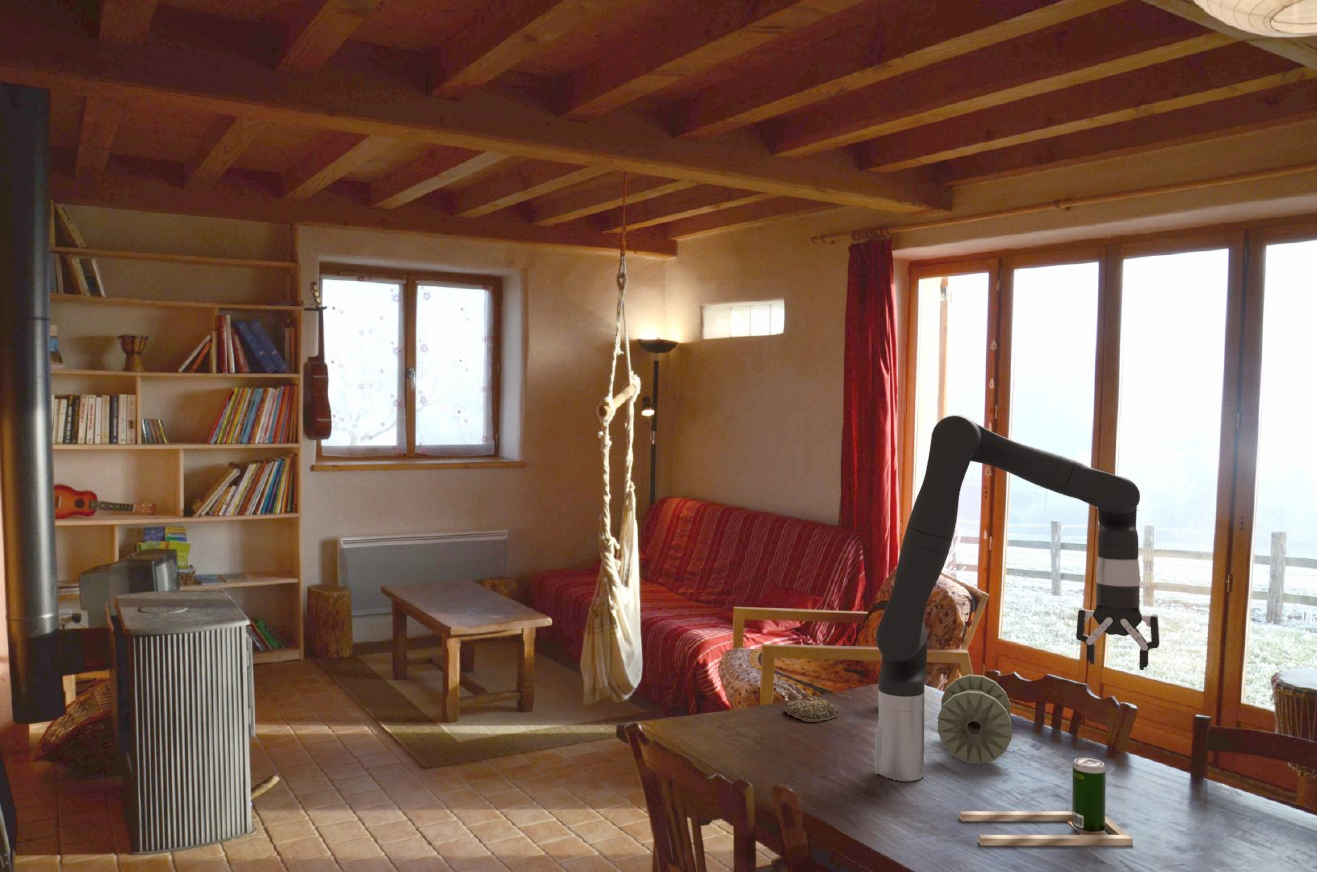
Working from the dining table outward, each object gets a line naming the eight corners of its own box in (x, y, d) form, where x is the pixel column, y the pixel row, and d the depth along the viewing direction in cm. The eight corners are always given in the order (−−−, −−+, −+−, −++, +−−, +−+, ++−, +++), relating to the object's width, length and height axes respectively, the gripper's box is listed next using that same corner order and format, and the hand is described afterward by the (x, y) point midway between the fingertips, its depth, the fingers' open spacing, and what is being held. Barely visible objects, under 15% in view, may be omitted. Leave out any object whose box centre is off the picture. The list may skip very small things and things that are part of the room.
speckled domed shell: (803, 725, 239) (803, 705, 239) (777, 712, 250) (777, 692, 250) (848, 719, 244) (848, 699, 244) (820, 706, 255) (821, 687, 255)
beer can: (1093, 838, 172) (1094, 769, 172) (1065, 828, 177) (1066, 760, 177) (1111, 831, 175) (1112, 763, 175) (1083, 821, 180) (1084, 755, 180)
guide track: (981, 845, 170) (981, 838, 170) (959, 817, 182) (959, 811, 182) (1132, 845, 170) (1132, 838, 170) (1100, 817, 182) (1101, 811, 182)
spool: (1011, 767, 210) (1011, 696, 210) (937, 759, 214) (937, 689, 214) (1010, 743, 225) (1010, 677, 225) (941, 736, 230) (941, 672, 230)
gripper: (1074, 581, 189) (1074, 666, 189) (1158, 587, 182) (1157, 675, 182) (1079, 576, 196) (1079, 658, 196) (1160, 581, 189) (1160, 667, 189)
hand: (1117, 666), depth 189 cm, fingers open, 8 cm apart
